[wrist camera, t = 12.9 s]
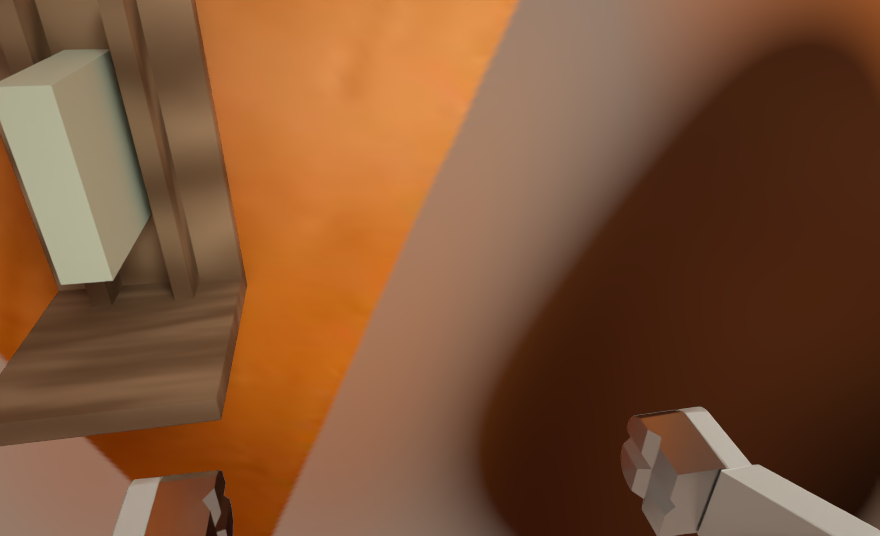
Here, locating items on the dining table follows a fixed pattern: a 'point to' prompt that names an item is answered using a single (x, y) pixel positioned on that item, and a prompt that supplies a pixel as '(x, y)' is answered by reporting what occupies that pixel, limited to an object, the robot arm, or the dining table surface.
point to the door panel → (77, 161)
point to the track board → (156, 249)
